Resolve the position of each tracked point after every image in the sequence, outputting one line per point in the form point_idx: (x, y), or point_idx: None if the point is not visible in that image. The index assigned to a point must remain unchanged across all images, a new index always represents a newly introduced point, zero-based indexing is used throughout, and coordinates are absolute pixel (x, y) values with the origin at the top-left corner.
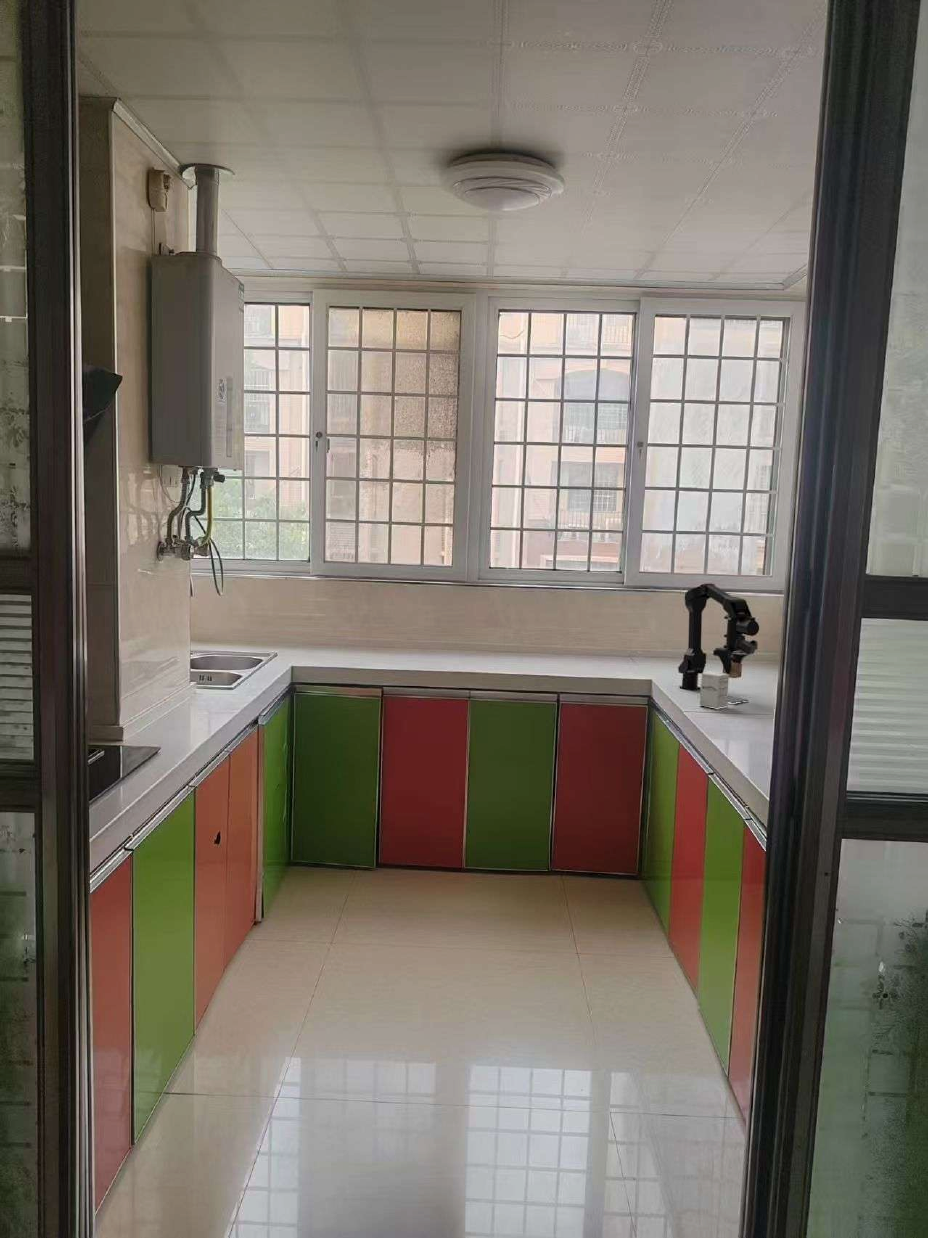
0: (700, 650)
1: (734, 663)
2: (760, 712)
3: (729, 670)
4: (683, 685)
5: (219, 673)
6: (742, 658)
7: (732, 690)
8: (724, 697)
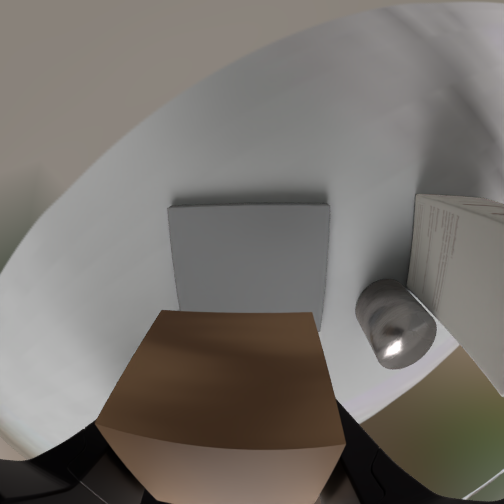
0: None
1: (195, 482)
2: (367, 28)
3: (341, 409)
4: None
5: (470, 496)
6: (38, 477)
7: (68, 363)
8: (473, 202)
